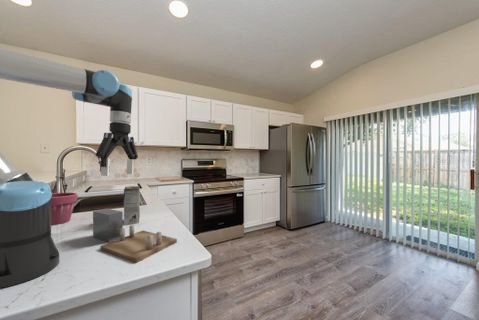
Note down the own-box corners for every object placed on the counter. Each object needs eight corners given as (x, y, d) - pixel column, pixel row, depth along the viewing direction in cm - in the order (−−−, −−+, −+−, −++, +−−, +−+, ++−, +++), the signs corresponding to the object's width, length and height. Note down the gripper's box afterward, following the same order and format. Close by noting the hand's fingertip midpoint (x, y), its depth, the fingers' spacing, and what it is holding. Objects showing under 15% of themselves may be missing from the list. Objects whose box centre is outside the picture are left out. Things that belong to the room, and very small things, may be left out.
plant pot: (73, 215, 104) (73, 191, 104) (80, 221, 95) (80, 194, 95) (33, 222, 93) (33, 194, 93) (38, 229, 84) (38, 199, 84)
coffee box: (125, 219, 99) (125, 186, 99) (139, 217, 102) (139, 185, 101) (123, 225, 91) (123, 189, 91) (139, 223, 93) (139, 188, 93)
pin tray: (136, 262, 59) (136, 244, 59) (100, 249, 67) (100, 233, 67) (176, 242, 73) (176, 227, 73) (142, 233, 81) (142, 220, 81)
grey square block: (108, 242, 72) (108, 214, 72) (93, 237, 77) (93, 211, 76) (122, 237, 77) (122, 211, 76) (106, 233, 81) (106, 208, 81)
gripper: (103, 116, 70) (101, 177, 70) (147, 128, 95) (145, 173, 95) (85, 116, 72) (82, 176, 71) (132, 128, 96) (131, 173, 96)
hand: (118, 174), depth 83 cm, fingers open, 13 cm apart
